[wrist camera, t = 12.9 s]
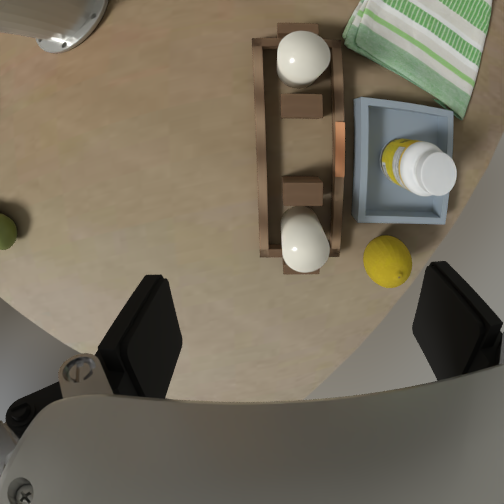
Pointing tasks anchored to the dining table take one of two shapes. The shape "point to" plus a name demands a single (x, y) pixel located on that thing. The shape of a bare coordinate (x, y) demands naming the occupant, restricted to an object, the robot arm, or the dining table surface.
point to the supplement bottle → (418, 167)
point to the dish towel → (425, 43)
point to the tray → (368, 160)
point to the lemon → (387, 261)
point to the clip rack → (307, 107)
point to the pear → (7, 232)
